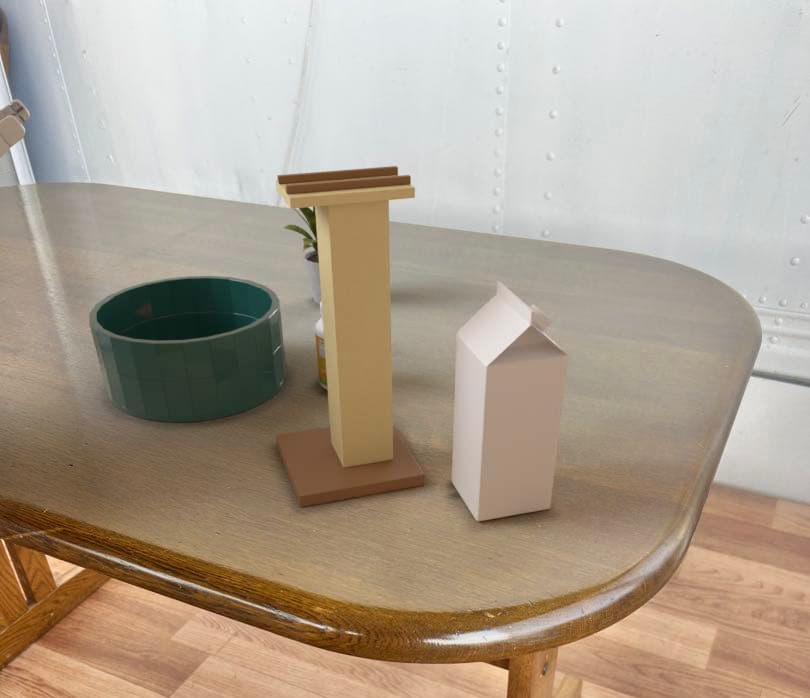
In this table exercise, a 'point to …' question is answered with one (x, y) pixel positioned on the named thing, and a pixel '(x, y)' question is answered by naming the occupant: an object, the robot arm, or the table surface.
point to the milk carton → (506, 409)
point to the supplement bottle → (321, 351)
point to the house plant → (312, 256)
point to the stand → (351, 339)
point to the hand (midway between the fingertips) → (22, 114)
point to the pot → (190, 347)
